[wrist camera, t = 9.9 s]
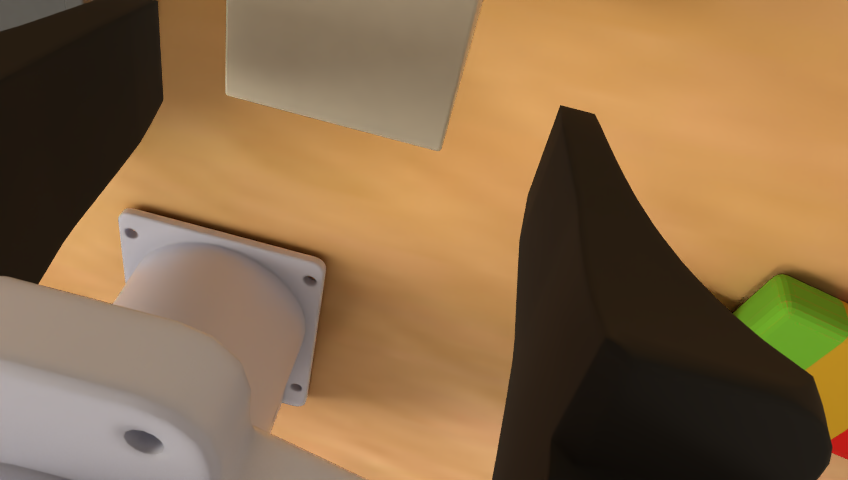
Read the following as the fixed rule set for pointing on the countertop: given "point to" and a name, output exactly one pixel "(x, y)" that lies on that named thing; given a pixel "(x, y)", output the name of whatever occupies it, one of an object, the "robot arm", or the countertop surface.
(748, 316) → the popsicle
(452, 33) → the cream block
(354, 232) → the countertop surface
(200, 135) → the countertop surface
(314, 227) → the countertop surface
